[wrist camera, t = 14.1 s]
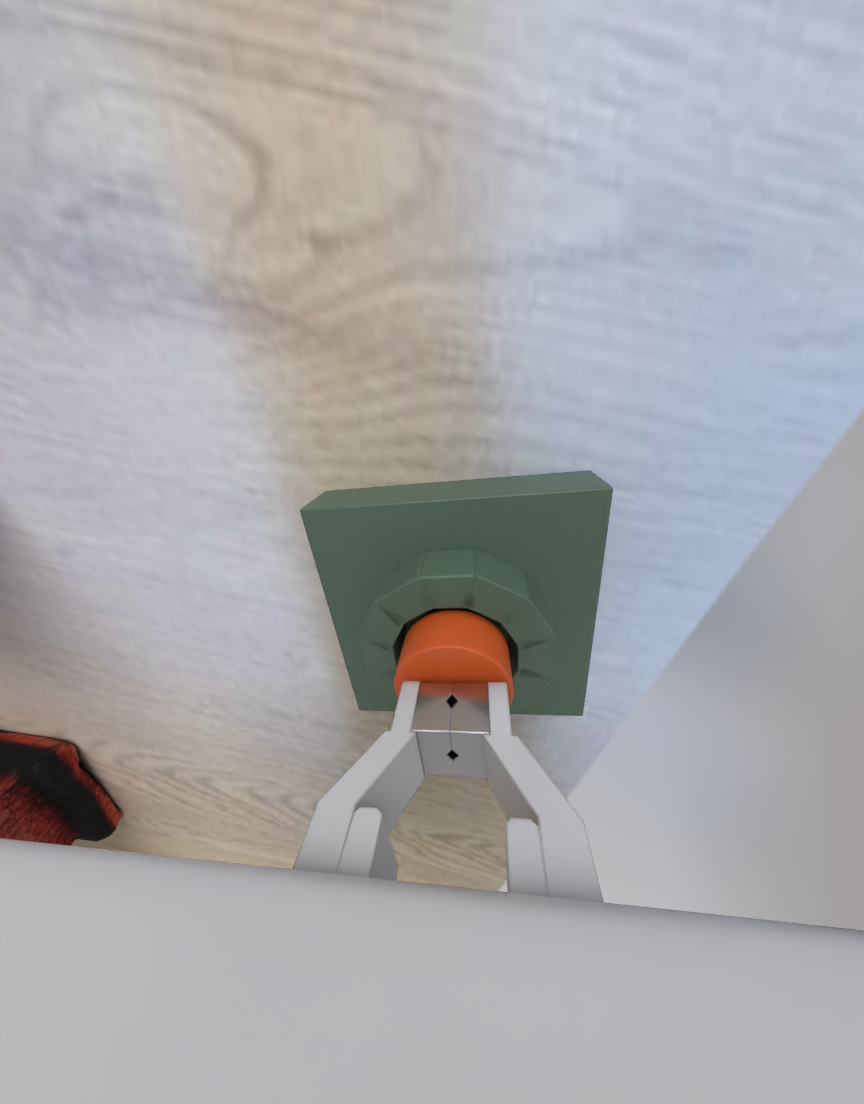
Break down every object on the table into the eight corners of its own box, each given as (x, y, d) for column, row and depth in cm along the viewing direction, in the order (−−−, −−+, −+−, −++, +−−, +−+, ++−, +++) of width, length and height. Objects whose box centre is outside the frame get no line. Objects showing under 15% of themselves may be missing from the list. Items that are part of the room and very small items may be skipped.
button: (508, 607, 10) (513, 646, 9) (508, 688, 12) (513, 734, 11) (396, 609, 11) (383, 646, 9) (411, 687, 13) (402, 730, 11)
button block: (591, 470, 12) (641, 507, 8) (570, 676, 16) (597, 758, 13) (324, 491, 13) (269, 530, 10) (371, 674, 18) (345, 748, 14)
